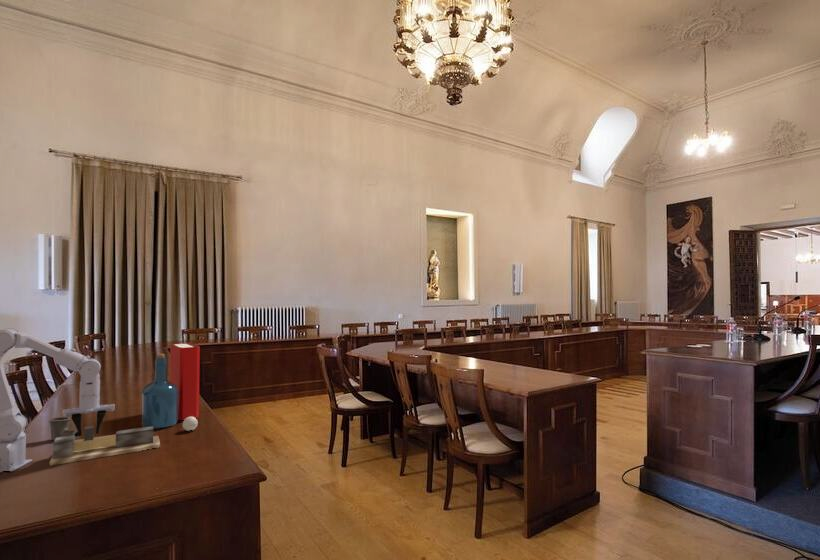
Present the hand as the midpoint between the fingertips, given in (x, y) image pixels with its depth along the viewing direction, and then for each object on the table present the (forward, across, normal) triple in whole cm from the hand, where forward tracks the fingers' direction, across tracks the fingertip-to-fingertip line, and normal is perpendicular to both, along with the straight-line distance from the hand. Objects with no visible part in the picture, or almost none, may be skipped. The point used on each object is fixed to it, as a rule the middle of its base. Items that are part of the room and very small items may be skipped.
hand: (88, 434), depth 153 cm
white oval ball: (+7, +34, +11) cm, 36 cm away
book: (+7, +33, +42) cm, 54 cm away
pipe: (+7, -9, +25) cm, 27 cm away
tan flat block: (+5, +3, 0) cm, 5 cm away
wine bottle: (+7, +23, +26) cm, 35 cm away
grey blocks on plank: (+7, +6, 0) cm, 9 cm away
